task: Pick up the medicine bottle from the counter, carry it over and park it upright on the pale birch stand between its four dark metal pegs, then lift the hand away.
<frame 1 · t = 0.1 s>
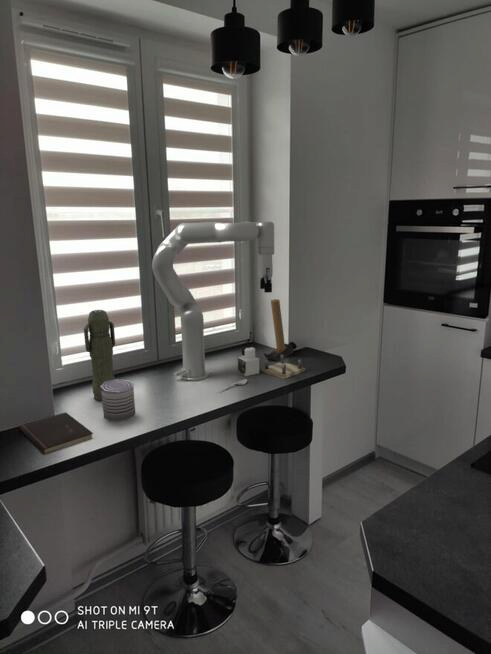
hand: (265, 290, 214), 37 cm above the counter, tool pointing down, fingers open, 9 cm apart
can: (119, 415, 178), on the counter
spoon: (229, 389, 203), on the counter
peg stand: (283, 371, 222), on the counter
dark green tall piece: (105, 397, 195), on the counter
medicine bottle: (248, 373, 221), on the counter
hardcover book: (56, 435, 164), on the counter
hammer: (280, 357, 244), on the counter
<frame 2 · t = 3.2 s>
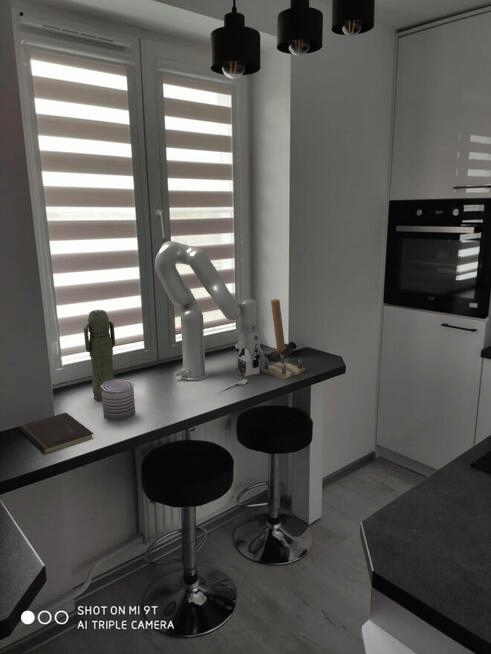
hand: (248, 365, 220), 4 cm above the counter, tool pointing down, fingers closed on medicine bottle, 8 cm apart
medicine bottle: (248, 373, 221), on the counter, touching gripper
everything else where it was.
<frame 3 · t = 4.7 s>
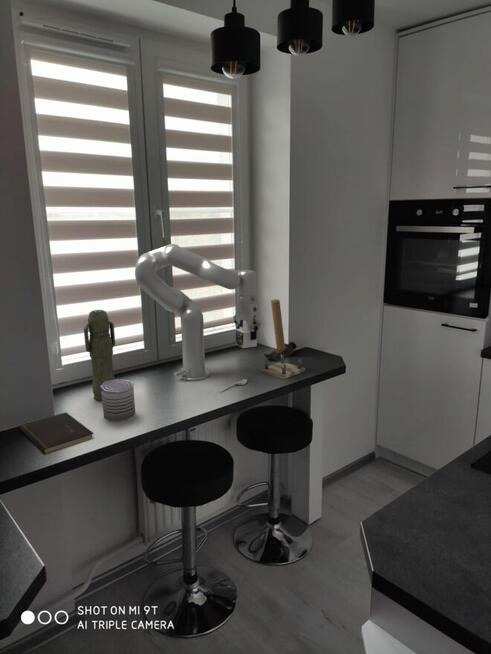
hand: (246, 337, 217), 16 cm above the counter, tool pointing down, fingers closed on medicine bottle, 8 cm apart
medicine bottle: (246, 345, 218), point 13 cm above the counter, touching gripper
everything else where it was.
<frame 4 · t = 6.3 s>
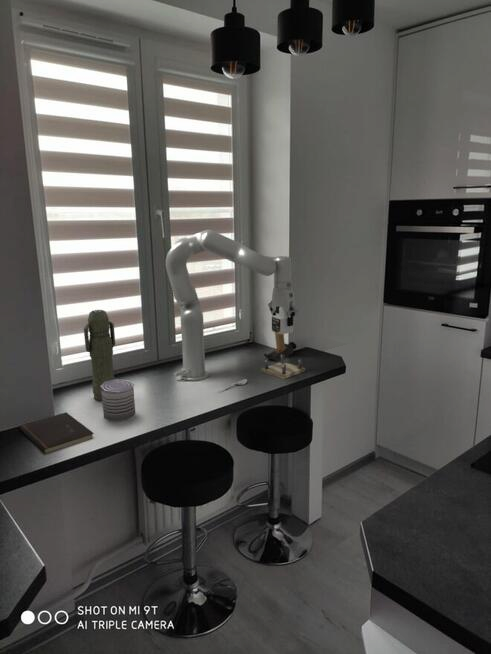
hand: (282, 324, 217), 22 cm above the counter, tool pointing down, fingers closed on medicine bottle, 8 cm apart
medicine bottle: (282, 332, 218), point 18 cm above the counter, touching gripper
everything else where it was.
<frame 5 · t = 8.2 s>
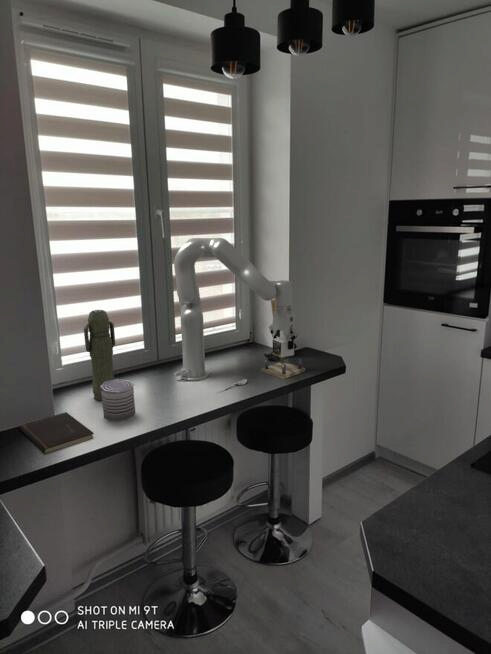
hand: (283, 346, 219), 12 cm above the counter, tool pointing down, fingers closed on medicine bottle, 8 cm apart
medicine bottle: (283, 355, 220), point 8 cm above the counter, touching gripper
everything else where it was.
when the fingers open (6 cm above the counter, at t = 9.9 s): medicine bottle drops 1 cm, resting on peg stand.
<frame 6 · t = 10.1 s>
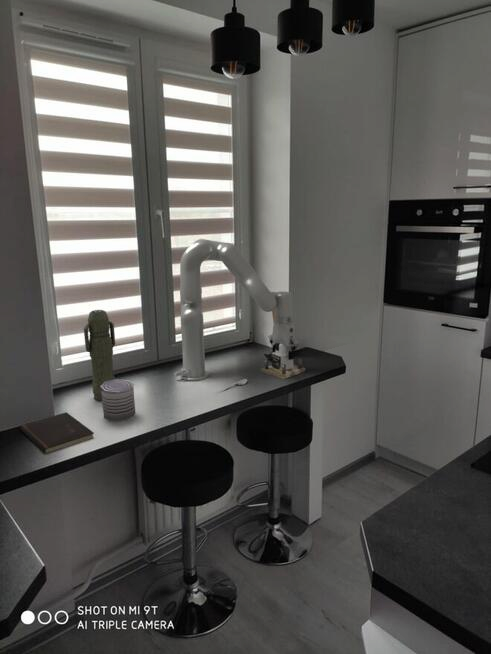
hand: (283, 356, 220), 7 cm above the counter, tool pointing down, fingers open, 9 cm apart
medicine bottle: (282, 368, 222), point 1 cm above the counter, touching peg stand
everything else where it was.
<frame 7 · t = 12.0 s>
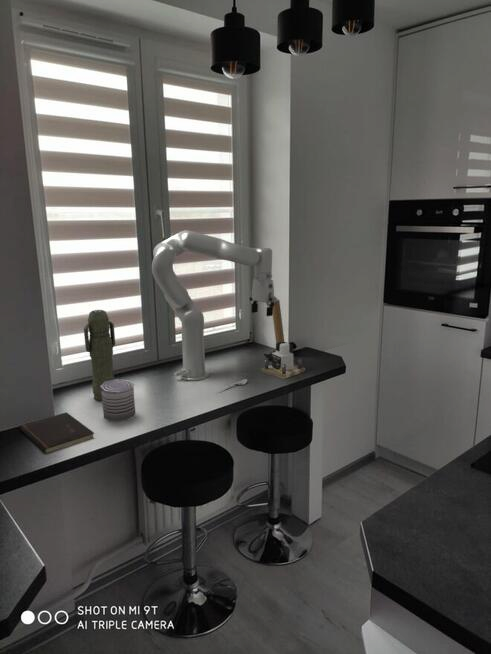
hand: (261, 314, 220), 26 cm above the counter, tool pointing down, fingers open, 9 cm apart
nothing on the counter moved.
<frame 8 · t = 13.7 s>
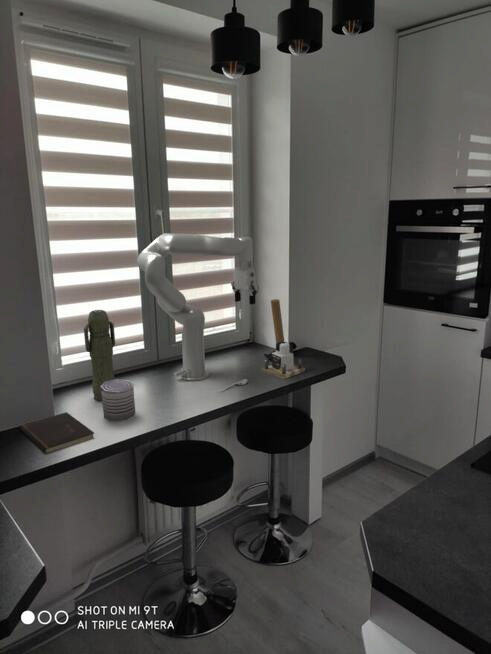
hand: (245, 302, 224), 30 cm above the counter, tool pointing down, fingers open, 9 cm apart
nothing on the counter moved.
at the end: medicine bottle 0.3 cm off-centre on the peg stand, point 1.3 cm above the peg stand's base; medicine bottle tilted 0°; the gripper is holding nothing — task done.
